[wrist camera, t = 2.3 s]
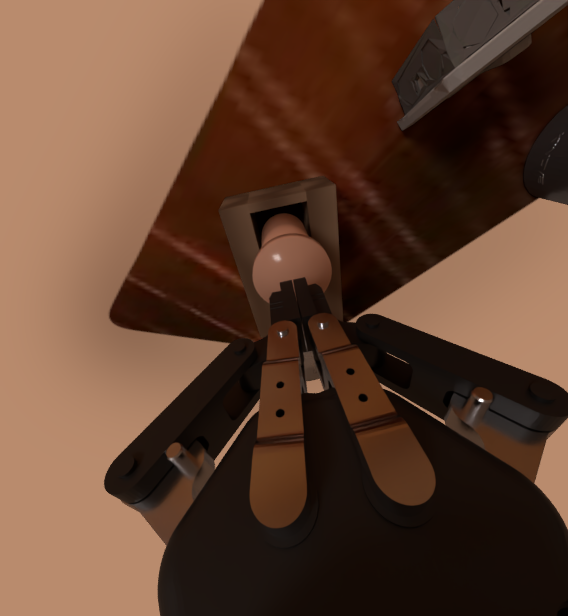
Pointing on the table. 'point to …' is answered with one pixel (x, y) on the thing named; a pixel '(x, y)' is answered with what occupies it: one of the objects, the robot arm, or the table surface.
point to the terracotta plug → (288, 257)
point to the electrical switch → (466, 49)
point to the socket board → (318, 225)
